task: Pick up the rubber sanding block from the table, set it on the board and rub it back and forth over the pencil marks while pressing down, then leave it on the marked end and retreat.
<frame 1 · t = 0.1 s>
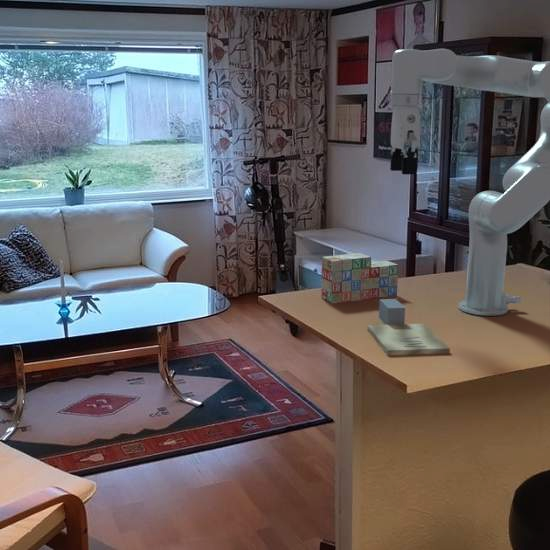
hand: (402, 172, 177), 37 cm above the table, tool pointing down, fingers open, 9 cm apart
stack of blocks: (359, 298, 201), on the table
sanding block: (391, 324, 176), on the table
board: (406, 341, 163), on the table
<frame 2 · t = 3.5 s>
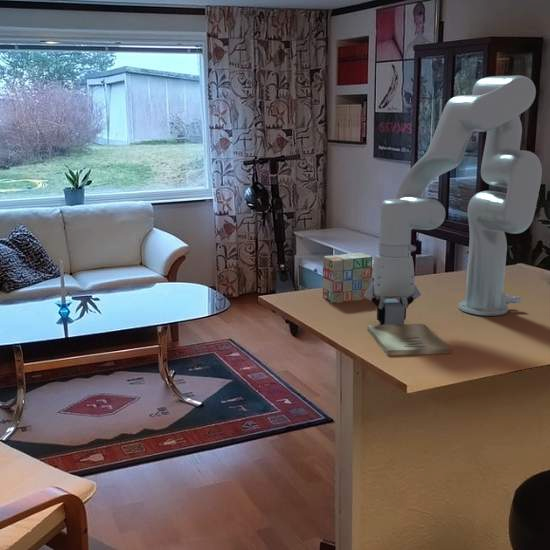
hand: (391, 321, 175), 1 cm above the table, tool pointing down, fingers closed on sanding block, 4 cm apart
sanding block: (390, 324, 176), on the table, touching gripper
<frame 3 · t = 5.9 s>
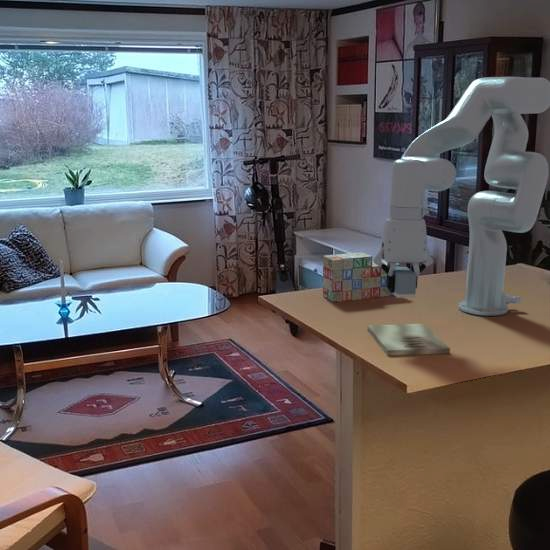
hand: (401, 290, 165), 11 cm above the table, tool pointing down, fingers closed on sanding block, 4 cm apart
sanding block: (401, 293, 165), point 10 cm above the table, touching gripper
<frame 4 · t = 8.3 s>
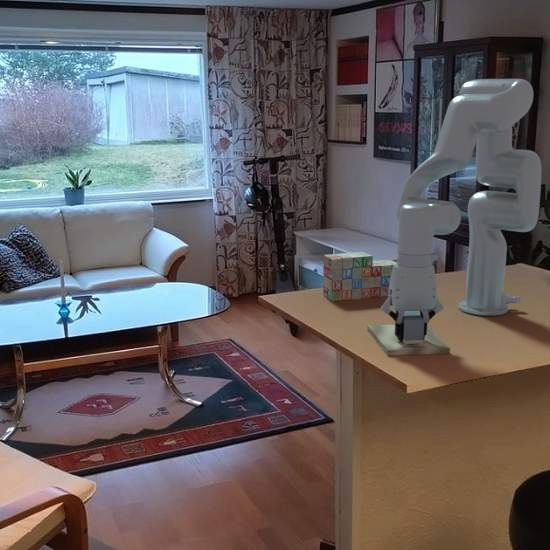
hand: (410, 337, 160), 2 cm above the table, tool pointing down, fingers closed on sanding block, 4 cm apart
sanding block: (408, 338, 161), point 1 cm above the table, touching gripper
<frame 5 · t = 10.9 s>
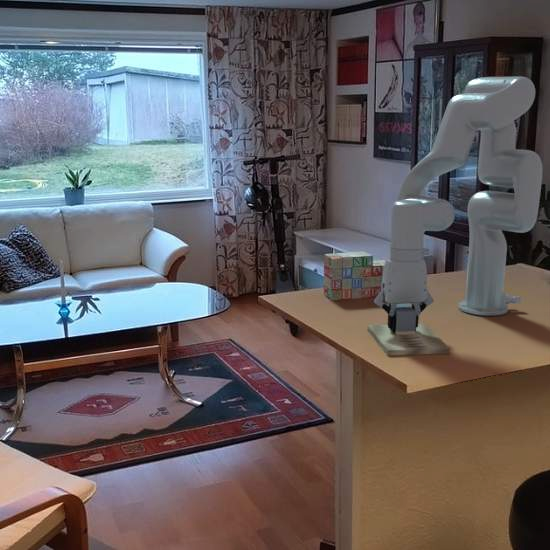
hand: (402, 329, 166), 2 cm above the table, tool pointing down, fingers closed on sanding block, 4 cm apart
sanding block: (401, 329, 167), point 1 cm above the table, touching gripper
when the fingers open (2 cm above the table, at t = 13.4 s): sanding block stays where it is, resting on board.
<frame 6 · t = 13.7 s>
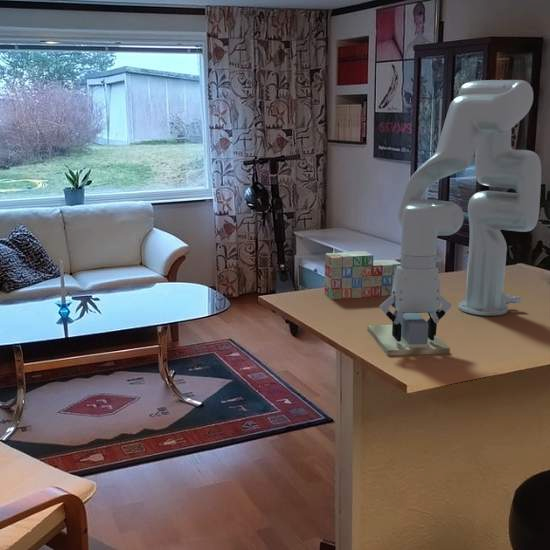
hand: (413, 338, 158), 2 cm above the table, tool pointing down, fingers open, 7 cm apart
sanding block: (412, 341, 159), point 1 cm above the table, touching board
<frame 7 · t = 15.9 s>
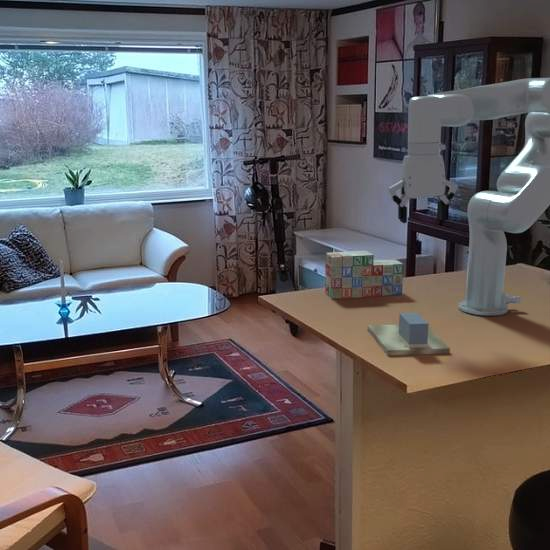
hand: (422, 221, 171), 26 cm above the table, tool pointing down, fingers open, 9 cm apart
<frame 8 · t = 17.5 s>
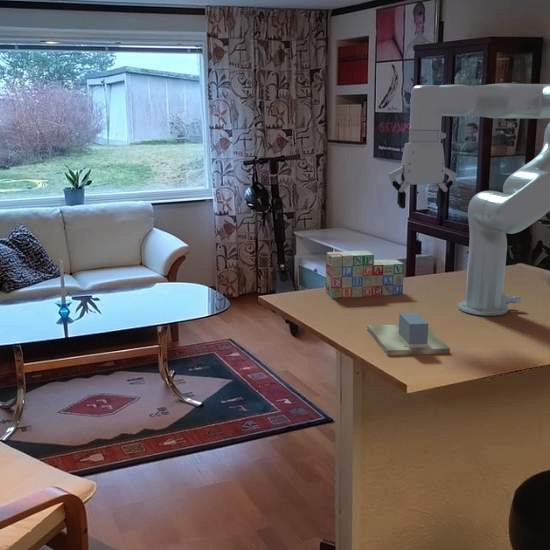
hand: (420, 207, 176), 28 cm above the table, tool pointing down, fingers open, 9 cm apart
at the end: sanding block inside the target area on the board (1.0 cm from its centre), point 1.2 cm above the board's base; the gripper is holding nothing; sanding block moved 17.0 cm from its start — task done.
